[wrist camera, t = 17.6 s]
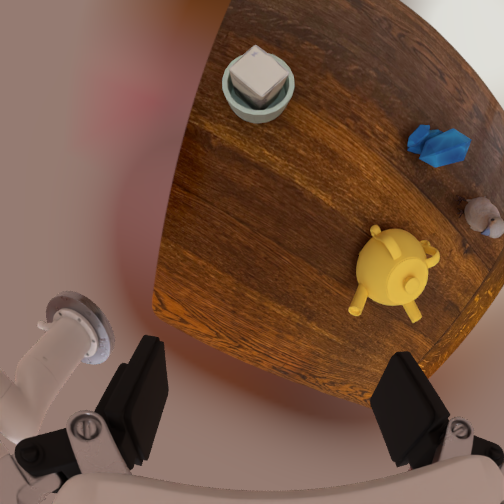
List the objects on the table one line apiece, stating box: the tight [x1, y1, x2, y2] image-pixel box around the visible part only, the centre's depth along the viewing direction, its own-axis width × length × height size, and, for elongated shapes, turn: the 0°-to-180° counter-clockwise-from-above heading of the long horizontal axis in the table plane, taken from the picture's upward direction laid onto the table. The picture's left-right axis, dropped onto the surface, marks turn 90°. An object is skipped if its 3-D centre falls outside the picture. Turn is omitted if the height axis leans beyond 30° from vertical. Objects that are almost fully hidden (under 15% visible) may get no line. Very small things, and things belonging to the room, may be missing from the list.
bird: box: [455, 195, 504, 238], centre depth 34 cm, size 5×14×15 cm, turn 107°
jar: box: [222, 54, 294, 123], centre depth 33 cm, size 9×9×8 cm
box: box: [229, 45, 289, 110], centre depth 30 cm, size 5×4×13 cm
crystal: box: [407, 125, 471, 167], centre depth 34 cm, size 7×9×12 cm
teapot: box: [349, 225, 440, 323], centre depth 40 cm, size 14×14×11 cm
